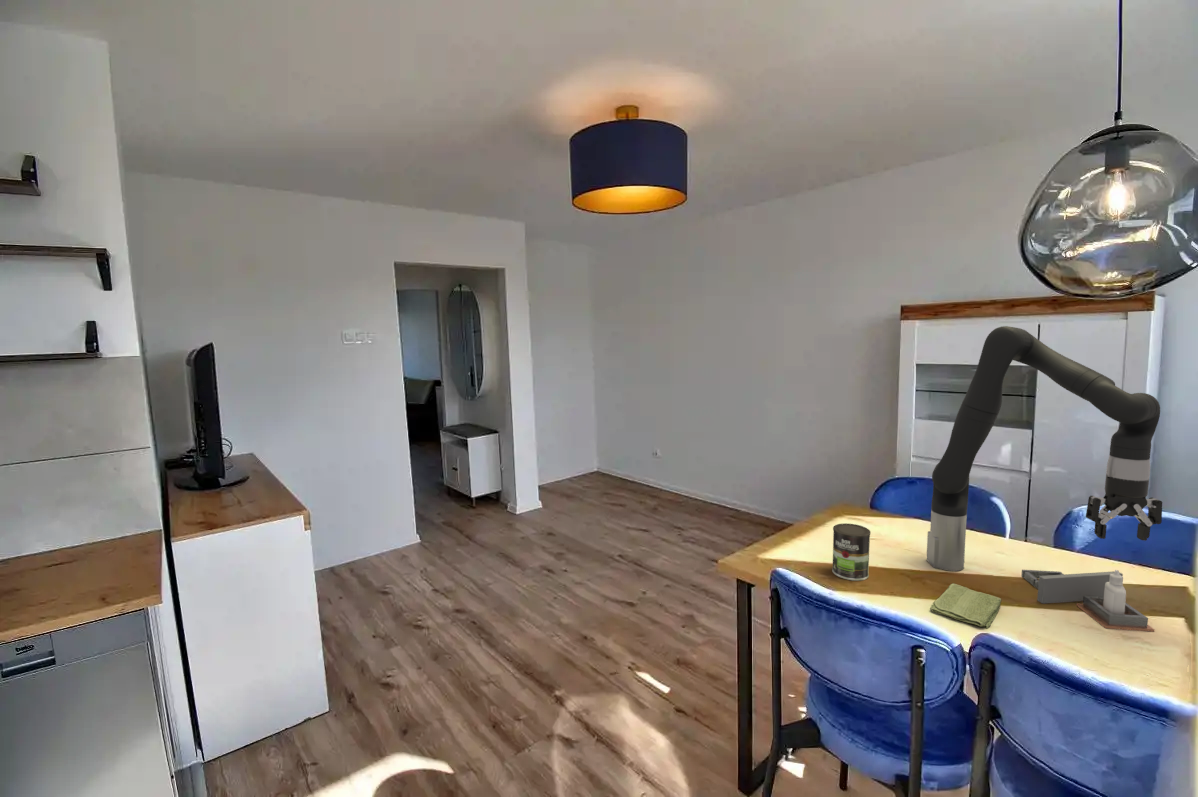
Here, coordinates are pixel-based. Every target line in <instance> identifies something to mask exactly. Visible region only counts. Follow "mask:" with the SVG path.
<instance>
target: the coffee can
mask: <svg viewBox="0 0 1198 797" xmlns="http://www.w3.org/2000/svg"><path fill="white" fill-rule="evenodd" d="M832 530H833V539H832V541H833V543H832V569H831V571H832V573H833V574H834V575H835V576H836V577H838V578H841V579H843V580H848V581H853V582H854V581H855V582H856V581H857V582H861V581H865V580H867V579H869V571H870V570H869V569H870V568H869V567H870V543H871V542H870V541H871V540H870V539H871V530H870V529H869V528H867V527H865V526H863V525H859V524H857V523H856V524H855V523H854V524H853V523H838V524H835V525H834V526H833V527H832Z"/></svg>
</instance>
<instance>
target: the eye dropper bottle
mask: <svg viewBox="0 0 1198 797" xmlns="http://www.w3.org/2000/svg"><path fill="white" fill-rule="evenodd" d="M1114 571H1115V572H1114V573H1113V574H1110V578H1109V582H1106V583H1105V589H1104V601H1103V607H1104V608H1105V609H1106V610H1108V611H1109V612H1110V613H1112V614H1125V602H1126V599H1127V591H1126V588H1125V587H1124V584H1123V583H1124V576H1121V575H1120V574H1119V572H1120V571H1119V570H1117V569H1115V570H1114ZM1126 603H1127V602H1126Z"/></svg>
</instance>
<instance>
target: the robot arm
mask: <svg viewBox="0 0 1198 797" xmlns="http://www.w3.org/2000/svg"><path fill="white" fill-rule="evenodd" d="M1013 361H1015V362H1018V363H1021V364H1023V365H1025V366H1029V367H1031V368H1033V369H1035V370H1037V371H1039V372H1040V373H1042V374H1044V375H1045V376H1047V377H1048V378H1050V380H1052V381H1053V382H1054V383H1056V384H1057V385H1058V386H1060V387H1061V388H1063V389H1065V390H1067V391H1068V392H1070V393H1071V394H1073V395H1076V396H1077V397H1079V398H1081V399H1082V400H1084V401H1087V402H1089V403H1090V404H1092V405H1093V406H1094V407H1095V408H1096V409H1097V410H1099V411H1100V412H1101V413H1103V414H1104V415H1105V416H1106V417H1108V418H1110V419H1112V420H1114V421H1116V422H1118V423H1119V426H1118V429H1117V431H1115V432H1114V433H1113V434H1112V435H1111V438H1110V444H1109V455H1108V459H1107V464H1106V472H1105V482H1104V492H1105V493H1104V494H1105V495H1104V496H1103V497H1099V496H1094V495H1090V496H1088V500H1087V508H1086V512H1085V518H1086V519H1087V520H1090V521H1092V522H1094V530H1093V531H1094V534H1095V535H1096V537H1097V538H1099V539H1102V540H1105V539H1106V536H1107V523H1108V522H1109V521H1110V520H1111V519H1114V518H1116V517H1117V516H1118V517H1125V516H1128V517H1135V518H1136V520H1137V521H1138V522H1137V531H1136V538H1137V539H1139V540H1140V541H1144V542H1145V541H1148V539H1149V538H1150V534H1151V527H1152V526H1153V525H1161V524H1162V523H1163V522H1162V518H1163V501H1162V500H1160V499H1158V498H1156V497H1155V498H1154V497H1149V498H1147V497H1148V495H1149V485H1150V475H1151V460H1150V459H1151V453H1152V452H1151V451H1152V440H1153V437H1154V435H1155V432H1156V430H1157V426H1158V424H1159V420H1160V417H1161V405H1160V402H1159V401H1158V399H1157V398H1156V397H1155V396H1153V395H1151V394H1149V393H1145V392H1135V393H1130V392H1128V391H1125V390H1123V389H1122V388H1120V387H1118V386H1117V385H1116V383H1115V381H1114V380H1112V379H1111V378H1109V377H1107V376H1106V375H1105V374H1102V373H1100V372H1098V371H1096V370H1094V369H1092V368H1090V367H1088V366H1086V365H1084V364H1082V363H1079V362H1077V361H1075V360H1073V359H1071V358H1069V357H1066V356H1065V355H1063V354H1061V353H1060V352H1057V351H1056V350H1054V349H1053V348H1051V347H1049V346H1047V344H1045V343H1043V342H1042V341H1040V340H1039V339H1038V338H1037V337H1035V336H1034V335H1033V334H1032V333H1030V332H1028V331H1027V330H1025V329H1024V328H1023V329H1022V328H1020V327H1014V326H1008V325H1003V326H999V327H996V328H994V329H993V330H992V331H990V333H989V334H988V335H987V337H986V338H985V340H984V343H983V346H982V350H981V352H980V357H979V359H978V363H977V367H976V370H975V373H974V375H973V377H972V379H971V381H970V384H969V386H968V389H967V391H966V393H965V396H964V398H963V400H962V402H961V404H960V407H959V409H958V412H957V415H956V416H955V419H954V423H953V426H952V430H951V434H950V438H949V440H948V445H947V447H946V450H945V452H944V453H943V454H942V456H941V458H940V461H939V462H938V463H937V464H936V465H935V467H934V469H933V470H932V473H931V480H932V483H933V486H932V488H933V489H932V497H931V504H930V505H931V508H930V509H931V512H930V528H929V529H930V530H929V531H927V538H926V542H927V543H926V561H927V562H928V563H929V564H930V565H931V566H932V568H934V569H936V568H937V569H939V570H945V571H949V572H951V571H952V572H953V571H955V572H956V571H957V572H958V571H959V572H960V571H962V570H963V569H964V568H965V555H966V554H965V552H966V537H967V536H966V535H967V534H966V532H967V520H968V518H967V517H968V506H969V505H968V504H969V488H970V474H971V471H972V466H973V465H974V464H973V463H974V461H975V459H976V456H977V454H978V453H979V451H980V449H981V447H982V446H983V444H984V443H985V441H986V440H987V438H988V436H989V434H990V432H991V430H992V428H993V427H994V425H995V423H996V420H997V419H998V415H999V414H1000V412H1001V408H1002V402H1003V383H1004V379H1005V376H1006V374H1007V371H1008V370H1009V367H1010V365H1011V363H1012V362H1013ZM1103 504H1104V506H1103ZM1146 506H1147V507H1148V508H1147V510H1148V512H1147V513H1146V512H1145V511H1144V508H1146ZM1101 507H1102V508H1101Z"/></svg>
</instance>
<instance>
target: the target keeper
mask: <svg viewBox="0 0 1198 797" xmlns="http://www.w3.org/2000/svg"><path fill="white" fill-rule="evenodd" d="M1103 601H1104V597H1095V596H1084V598H1083V601H1082V603H1080V602H1079V603H1076V607H1078V608H1079V609H1080V610H1081V611H1083V612H1084V613H1085V614H1087V615H1088V617H1091V618H1092V620H1094V621H1095V622H1097V623H1098V624H1099V625H1100V626H1102V627H1103V628H1104V629H1113V630H1124V631H1136V632H1137V631H1139V632H1155V628H1153V627H1152V626H1150V625H1149V618H1148V617H1147V616H1146V615H1144V614H1143V613H1141V611H1138V609H1135V608H1134V607H1132V605H1130V604H1129V603H1127V602H1125V614H1112V613H1110V612H1109V611H1108V610H1106V609H1105V608H1104V607H1103Z"/></svg>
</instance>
